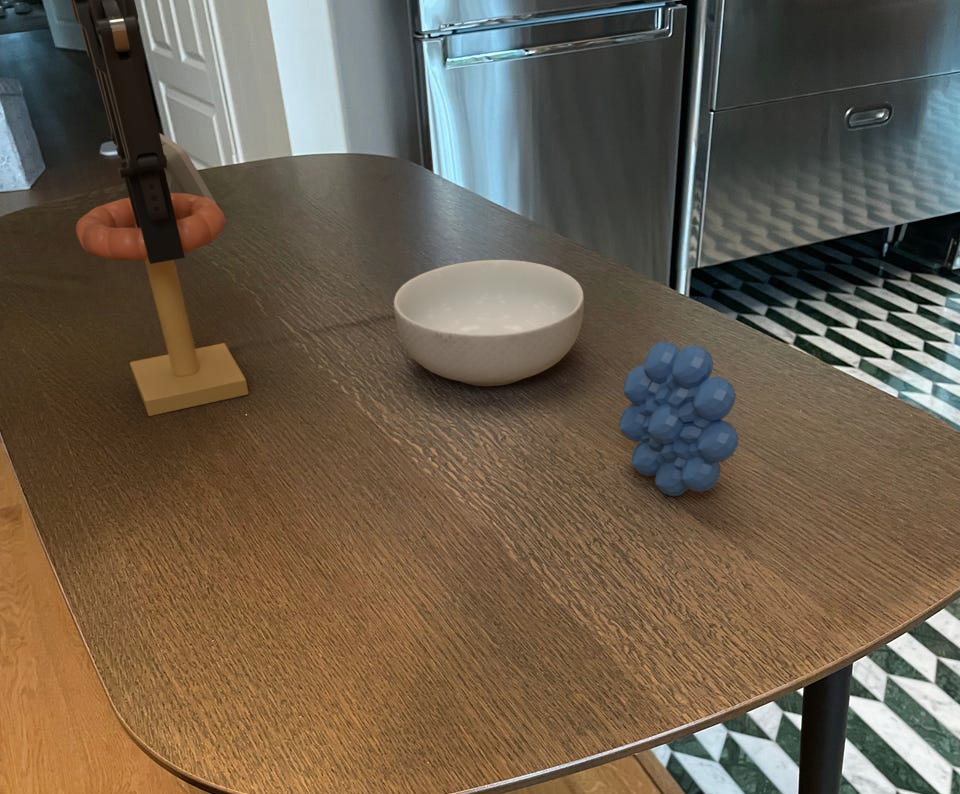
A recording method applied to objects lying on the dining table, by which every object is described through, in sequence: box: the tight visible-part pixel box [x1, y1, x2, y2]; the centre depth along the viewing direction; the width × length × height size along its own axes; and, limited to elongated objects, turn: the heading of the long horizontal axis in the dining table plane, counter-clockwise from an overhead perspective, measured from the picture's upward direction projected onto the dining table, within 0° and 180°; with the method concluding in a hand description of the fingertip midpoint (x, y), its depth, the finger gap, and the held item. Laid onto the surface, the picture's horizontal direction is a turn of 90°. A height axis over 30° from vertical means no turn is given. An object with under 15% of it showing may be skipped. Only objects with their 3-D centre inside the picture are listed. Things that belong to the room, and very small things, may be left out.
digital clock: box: [160, 133, 228, 226], centre depth 126 cm, size 16×9×11 cm, turn 20°
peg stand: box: [129, 225, 250, 417], centre depth 88 cm, size 9×9×14 cm
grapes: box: [618, 340, 739, 497], centre depth 71 cm, size 12×7×12 cm, turn 31°
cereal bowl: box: [393, 259, 585, 387], centre depth 90 cm, size 17×17×7 cm
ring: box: [75, 193, 226, 261], centre depth 83 cm, size 12×12×2 cm
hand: (163, 252), depth 80 cm, fingers closed on ring, 3 cm apart
